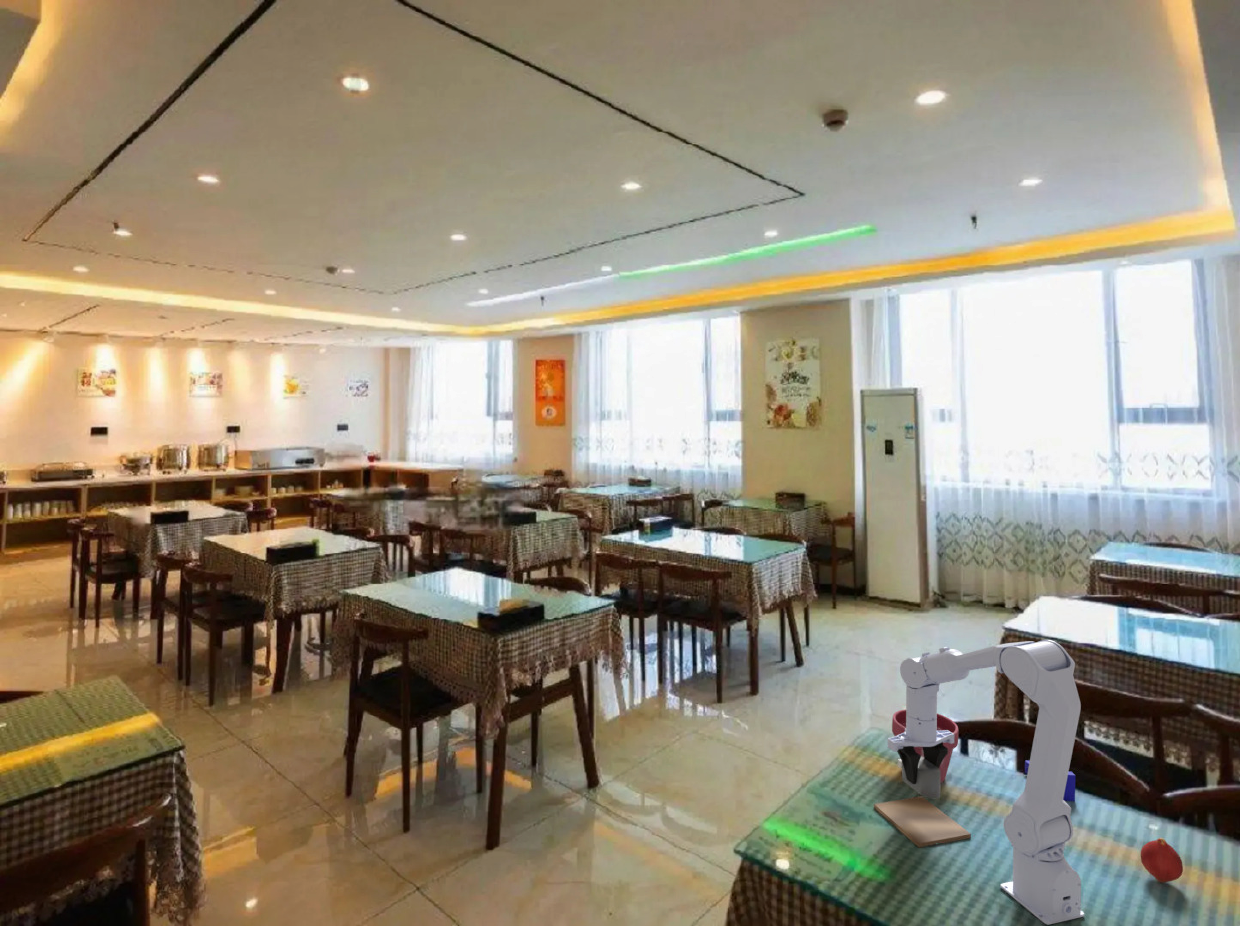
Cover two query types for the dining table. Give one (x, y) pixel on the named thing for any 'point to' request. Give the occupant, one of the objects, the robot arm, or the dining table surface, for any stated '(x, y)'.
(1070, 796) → the cable clip
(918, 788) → the grey rounded bottle
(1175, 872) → the onion
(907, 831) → the walnut pad
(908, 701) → the robot arm
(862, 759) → the dining table surface
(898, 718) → the plant pot
